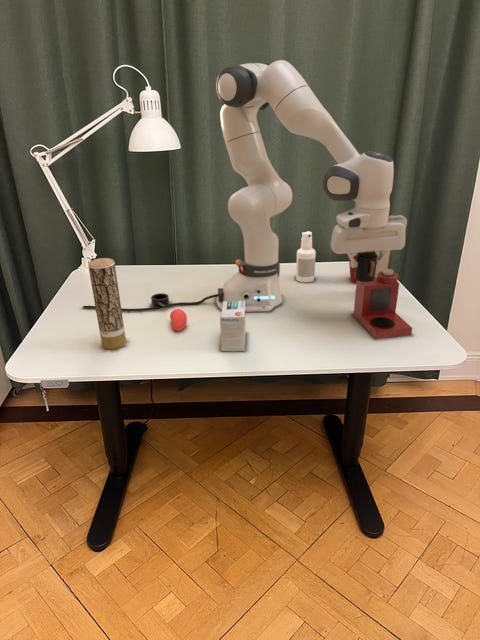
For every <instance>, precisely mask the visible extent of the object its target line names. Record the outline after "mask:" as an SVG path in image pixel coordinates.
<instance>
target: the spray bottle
mask: <svg viewBox="0 0 480 640" xmlns="http://www.w3.org/2000/svg"><path fill="white" fill-rule="evenodd" d="M300 240H301V241H300V248H297V250H296V264H295V265H296V266H295V267H296V268H295V279H296V281H297V282H300V283H311V282H313V281H314V280H315V276H316V275H315V274H316V273H315V271H316V255H317V252H316V249H314V248H313V232H312V231H310V230H307V231H305V232H303V231H302V232H301V239H300Z"/></svg>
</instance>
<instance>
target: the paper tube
mask: <svg viewBox="0 0 480 640" xmlns="http://www.w3.org/2000/svg"><path fill="white" fill-rule="evenodd" d="M87 266H88V267H87V268H88V272H89V278H90V283H91V290H92V296H93V301H94V306H95V308H96V309H95V311H96V312H95V313H96V319H97V324H98V329H99V335H100V341H101V346H102V347H103V348H104V349H107V350H118V349H120V348H122V347H123V346H124V345H125V344H126V343H127V339H126V331H125V324H124V317H123V311H122V310H121V308H122V304H121V296H120V289H119V284H118V283H119V282H118V277H117V269H116V263H115V259H113V258H110V257H101V258H95V259H92V260H90V261H88V263H87Z"/></svg>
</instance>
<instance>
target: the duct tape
mask: <svg viewBox="0 0 480 640" xmlns="http://www.w3.org/2000/svg"><path fill="white" fill-rule="evenodd" d="M150 301H151V307H158V306H163V307H166V308H170V307H169V306H168V305H167V304H170V296H169V294H167V293H162V292H161V293H155V294H153V295H151V296H150Z"/></svg>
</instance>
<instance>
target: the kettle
mask: <svg viewBox="0 0 480 640" xmlns="http://www.w3.org/2000/svg"><path fill="white" fill-rule="evenodd" d="M377 257H378V255H377V254H376V252H374V251H373V252H359V253H357V256H356V260H357V261H358V267H356V268H355V275H354V278H355V279H356V280H358V281H361V282H371V281H374V280H375V273H376V265H377Z"/></svg>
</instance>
